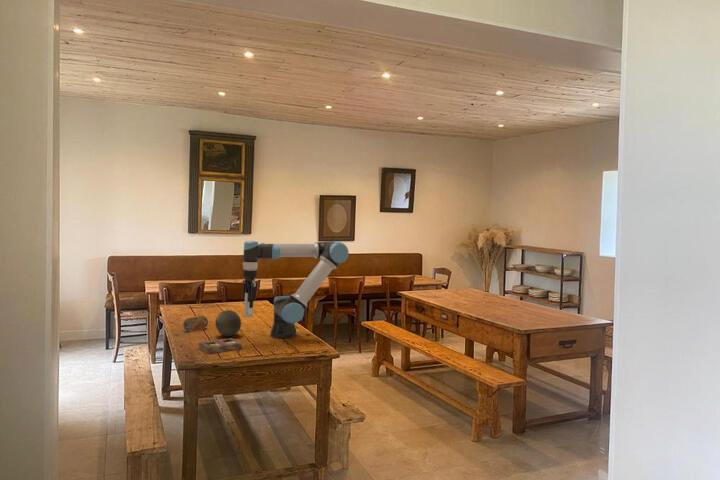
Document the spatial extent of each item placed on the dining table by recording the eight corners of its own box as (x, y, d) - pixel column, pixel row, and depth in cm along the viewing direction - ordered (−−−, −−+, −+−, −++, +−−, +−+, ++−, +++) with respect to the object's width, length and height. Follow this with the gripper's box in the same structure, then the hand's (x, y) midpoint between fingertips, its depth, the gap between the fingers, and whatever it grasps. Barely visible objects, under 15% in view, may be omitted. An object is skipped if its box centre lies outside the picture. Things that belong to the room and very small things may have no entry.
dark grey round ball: (218, 333, 304) (218, 308, 304) (242, 333, 305) (243, 308, 304) (212, 339, 290) (213, 312, 289) (238, 339, 291) (238, 313, 290)
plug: (249, 315, 283) (250, 292, 283) (252, 317, 281) (253, 293, 280) (244, 316, 281) (244, 292, 281) (246, 317, 279) (247, 293, 278)
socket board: (231, 343, 282) (231, 337, 282) (241, 348, 272) (241, 342, 271) (198, 348, 271) (198, 341, 271) (208, 353, 261) (208, 347, 261)
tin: (185, 332, 305) (185, 318, 304) (182, 331, 307) (182, 317, 307) (208, 329, 316) (208, 315, 315) (205, 328, 318) (205, 314, 318)
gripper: (237, 268, 284) (235, 310, 285) (250, 271, 271) (248, 316, 272) (249, 268, 289) (248, 309, 290) (263, 271, 276) (261, 315, 277)
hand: (248, 312), depth 281 cm, fingers closed on plug, 3 cm apart
